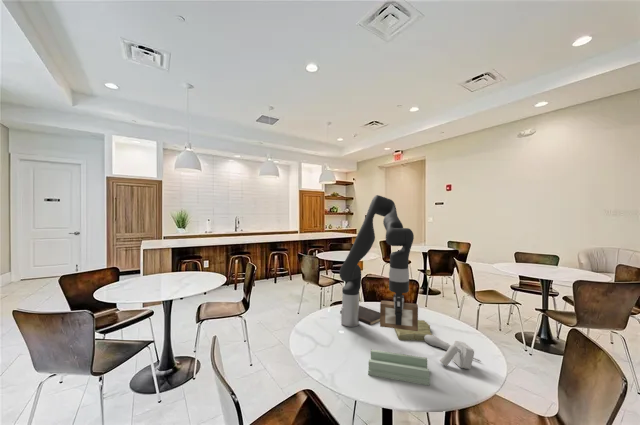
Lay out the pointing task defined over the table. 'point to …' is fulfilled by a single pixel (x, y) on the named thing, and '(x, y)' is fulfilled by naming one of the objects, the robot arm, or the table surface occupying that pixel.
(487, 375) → the table surface
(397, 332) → the decorative tile
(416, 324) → the wooden picture frame
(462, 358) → the wall hook
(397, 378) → the pale green channel holder
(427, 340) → the screwdriver
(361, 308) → the hardcover book
